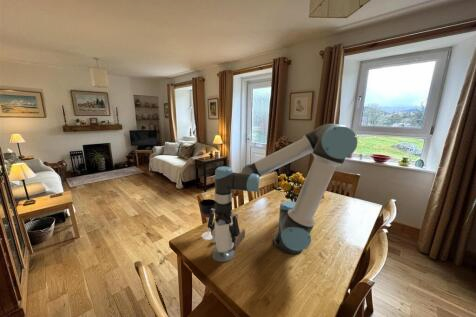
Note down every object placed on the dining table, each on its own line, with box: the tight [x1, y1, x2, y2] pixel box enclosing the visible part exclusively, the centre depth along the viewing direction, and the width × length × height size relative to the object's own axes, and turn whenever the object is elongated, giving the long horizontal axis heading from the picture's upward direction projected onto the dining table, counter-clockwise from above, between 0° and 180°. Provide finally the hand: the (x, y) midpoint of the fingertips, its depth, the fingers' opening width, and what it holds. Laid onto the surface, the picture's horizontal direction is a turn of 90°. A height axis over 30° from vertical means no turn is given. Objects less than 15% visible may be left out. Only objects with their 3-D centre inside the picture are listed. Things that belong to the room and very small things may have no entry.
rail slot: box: [214, 228, 246, 251], centre depth 102 cm, size 12×12×4 cm
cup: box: [213, 219, 233, 252], centre depth 90 cm, size 7×7×15 cm
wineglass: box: [199, 198, 215, 241], centre depth 104 cm, size 8×9×20 cm
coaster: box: [211, 246, 235, 263], centre depth 92 cm, size 11×11×1 cm
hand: (223, 244), depth 91 cm, fingers closed on cup, 9 cm apart
